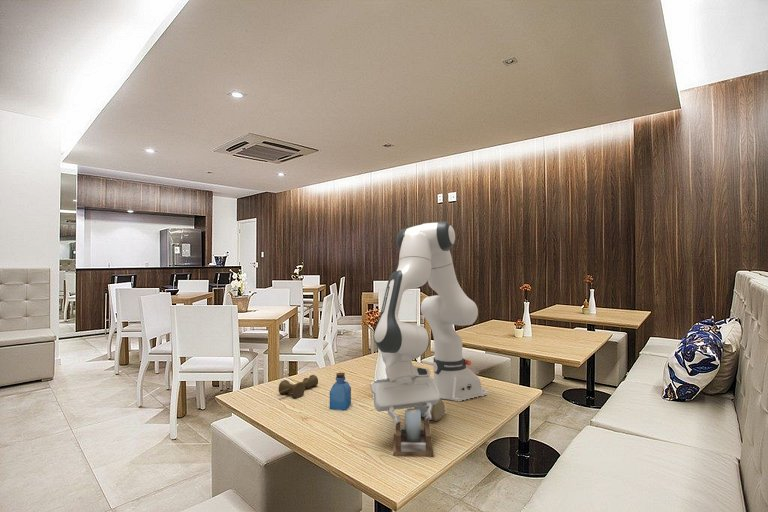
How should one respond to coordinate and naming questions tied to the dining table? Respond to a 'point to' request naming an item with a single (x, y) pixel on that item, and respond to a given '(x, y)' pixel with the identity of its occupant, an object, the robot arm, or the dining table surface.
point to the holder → (413, 443)
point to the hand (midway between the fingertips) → (413, 421)
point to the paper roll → (413, 425)
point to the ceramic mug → (434, 410)
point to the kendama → (298, 386)
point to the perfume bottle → (340, 393)
